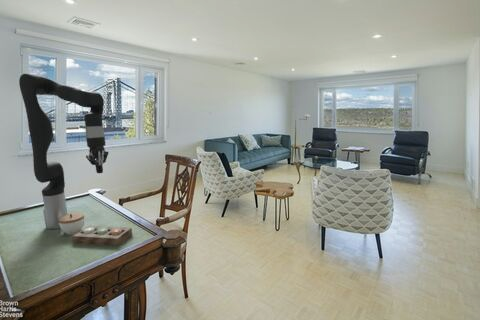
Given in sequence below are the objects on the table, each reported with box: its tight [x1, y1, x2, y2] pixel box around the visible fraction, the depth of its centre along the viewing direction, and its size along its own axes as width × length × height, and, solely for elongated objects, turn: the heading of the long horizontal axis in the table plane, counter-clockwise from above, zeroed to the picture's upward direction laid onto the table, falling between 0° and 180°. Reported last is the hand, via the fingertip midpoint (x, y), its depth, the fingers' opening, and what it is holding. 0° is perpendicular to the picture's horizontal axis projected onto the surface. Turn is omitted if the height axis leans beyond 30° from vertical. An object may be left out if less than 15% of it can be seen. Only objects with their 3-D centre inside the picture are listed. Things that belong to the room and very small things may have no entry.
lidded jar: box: [58, 212, 85, 236], centre depth 132 cm, size 11×11×9 cm
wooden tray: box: [71, 225, 133, 247], centre depth 124 cm, size 22×11×3 cm, turn 80°
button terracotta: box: [111, 229, 122, 235], centre depth 123 cm, size 4×4×2 cm
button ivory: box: [82, 227, 94, 234], centre depth 125 cm, size 4×4×2 cm
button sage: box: [97, 228, 108, 235], centre depth 124 cm, size 4×4×2 cm
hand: (99, 172), depth 128 cm, fingers closed
